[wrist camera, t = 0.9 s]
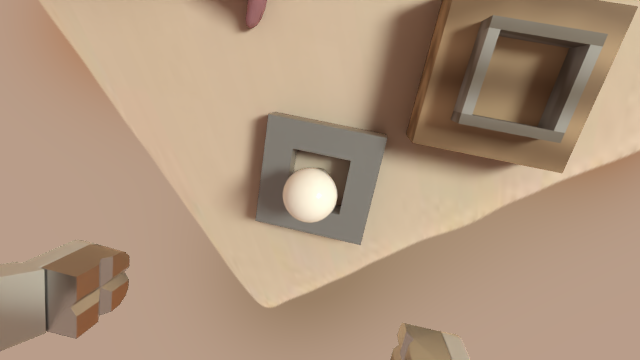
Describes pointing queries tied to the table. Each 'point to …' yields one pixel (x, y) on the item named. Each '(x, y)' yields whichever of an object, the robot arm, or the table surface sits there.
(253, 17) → the video game controller
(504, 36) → the raised socket stand
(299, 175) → the lightbulb
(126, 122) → the table surface
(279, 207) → the low socket block
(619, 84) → the table surface
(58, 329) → the robot arm
